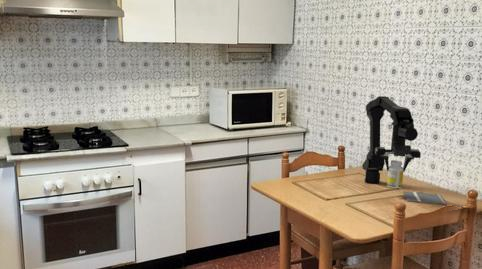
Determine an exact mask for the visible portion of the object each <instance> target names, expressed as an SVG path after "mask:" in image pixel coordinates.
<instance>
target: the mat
mask: <svg viewBox="0 0 482 269" xmlns="http://www.w3.org/2000/svg"><path fill="white" fill-rule="evenodd" d="M402 193H403V195H404V198H405V200H406V201H407V202H410V203H411V202H412V203H420V202H421V203H422V204H431V203H434V205H443V204H444V205H446V206H447V202H446V201H445V200H444V198H443V197H442V196H441V194H440V193H428V192H418V191H417V192H416V191H407V190H406V191H402Z"/></svg>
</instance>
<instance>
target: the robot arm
mask: <svg viewBox="0 0 482 269" xmlns="http://www.w3.org/2000/svg"><path fill="white" fill-rule="evenodd" d="M365 111H366V116H367V118H368V120H369V151H368V152H367V154H366V155H365V156H366V159H365V160H364V162H363V163H362V164H361V165H362V170H364V171H365V173H364V174H365V176H364V183H366V184H375V185H376V184H377V185H378V184H380V180H381V172H383V171H384V167H386V171H387V172H388V169H389V166H390V165H389V154H390V155H393V156H394V157H402V158H403V157H404V162H403V165H402V168H403V169H404V170H403V173H405V171H406V169H407V167H408V165H409V164H410V162H411V161H412V160H414V159H420V158H421V155H422V154H421V151H420V150H419V149H416V148H415V149H414V148H413V149H412V146H411V145H410V144H409V145H408V144H407V145H406V141H409V142H412V141H414V140H416V139H417V138H418V135H419V134H418V133H419V132H418V130H417V129H416V128H415V124H414V118H413V116H412V113H411V111H410V108H407V107H405V106H399V105H398V104H397V103H395V102H394V101H393V100H391V99H390V97H388V96H386V95H385V96H381V95H380V96H376V98H374V99H373V100H370V101H369V102H368V103H367V104H366V105H365ZM385 111H387V113H389V114H390V116H389V117H390V118H391V120H392V122H391V126H392V133H391V145H390V148H389V149H387V148H385V146H381V120H382V118H383V117H384V115H385ZM380 171H381V172H380Z"/></svg>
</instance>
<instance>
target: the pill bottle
mask: <svg viewBox="0 0 482 269" xmlns="http://www.w3.org/2000/svg"><path fill="white" fill-rule="evenodd" d="M403 170H404V169H403V161H401V160H399V159H398V160H397V159H396V160H395V159H391V160H390V165H389V169H388V171H387V178H386V179H387V180H386V185H387V187H389V188H391V189H400V188H402V187H403V180H404V178H403V177H404V172H403Z"/></svg>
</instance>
